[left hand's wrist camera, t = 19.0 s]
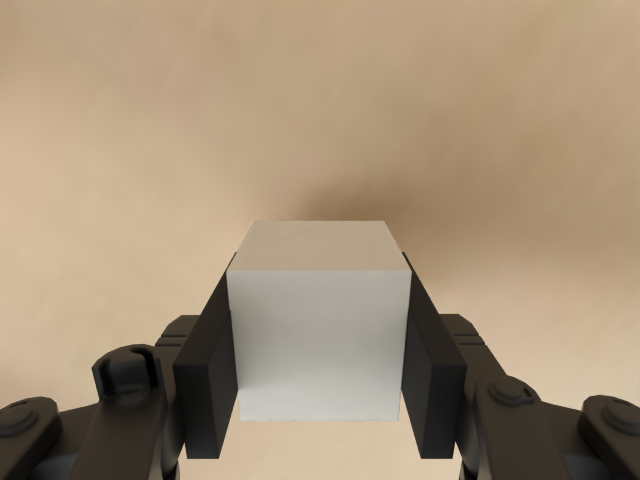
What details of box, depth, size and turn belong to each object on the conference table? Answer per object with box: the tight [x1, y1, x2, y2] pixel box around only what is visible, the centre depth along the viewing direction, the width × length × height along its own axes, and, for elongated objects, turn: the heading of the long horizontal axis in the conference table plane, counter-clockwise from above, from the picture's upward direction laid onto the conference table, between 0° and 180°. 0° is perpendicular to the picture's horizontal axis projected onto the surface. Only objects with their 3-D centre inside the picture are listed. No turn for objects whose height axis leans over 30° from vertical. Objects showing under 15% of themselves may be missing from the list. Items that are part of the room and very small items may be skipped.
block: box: [226, 221, 412, 421], centre depth 13 cm, size 5×5×4 cm
